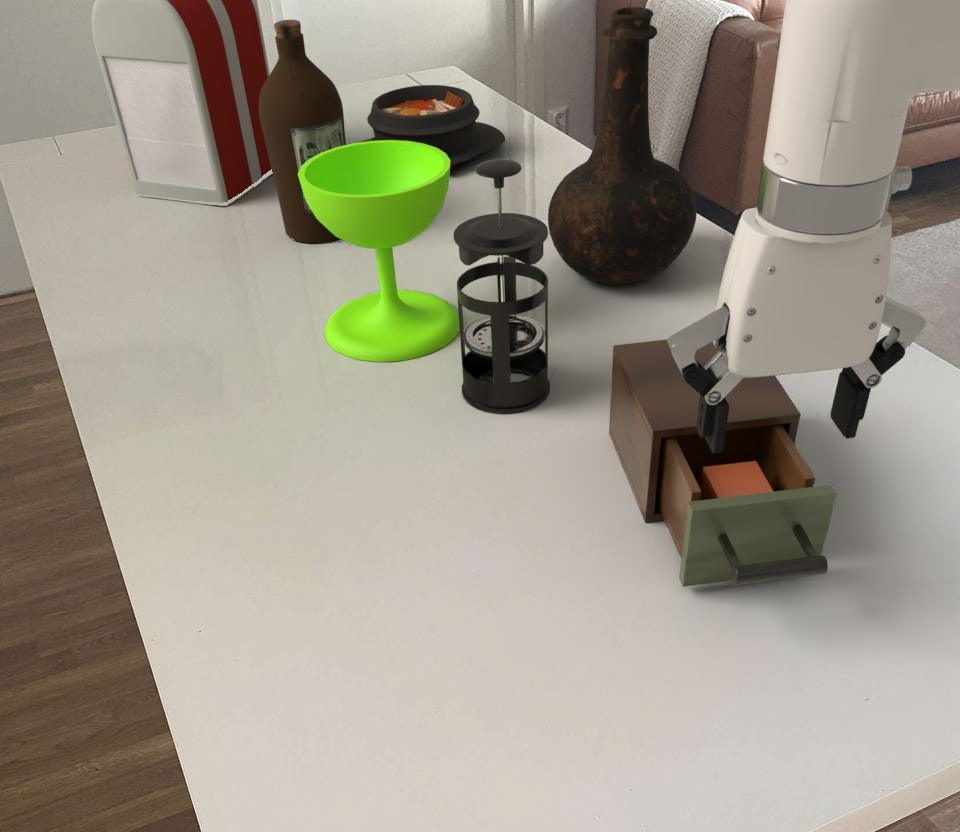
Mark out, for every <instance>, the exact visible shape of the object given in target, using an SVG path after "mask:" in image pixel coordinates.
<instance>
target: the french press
mask: <svg viewBox="0 0 960 832" xmlns="http://www.w3.org/2000/svg"><path fill="white" fill-rule="evenodd" d="M522 169H523V168H522V165H521V163H519V162H518V161H515V160H512V159H505V158H495V159H490V160H486V161H483V162H481V163H479V164H477V166H475V173H476V174H477V175H479V176H480V177H483V178H487V179H493V187H494V188H495V189H496V191H497V192H496V194H497V212H495V213H487V214H482V215H478V216H475V217H472V218H469V219H466V220H464V221H463V222H461V223H460V224H459V225H458V226H457V227H455V229H454V230H453V241H454V243H455V244H456V245H457V246H458V255H459V261H460V262H461V263H462V264H463V265H465V266H471V265H473V264H475V263H477V262H479V261H480V260H482V259H484V258H487V257H489V256H495V257H497V260H496V261H494V262H493V261H492V262H486V263H483V264H479V265H476V266H473V267H471V268H469V269H467V270H465V272H462V273H461V275H459V276H458V279H457V281H456V292H457V293H456V294H457V295H456V297H457V309H458V311H457V312H458V315H459V326H460V330H459V340H460V341H459V342H460V354H461V355H460V356H461V370H462V371H461V372H462V384H461V395H462V397H463V399H464V401H465V402H466V403H467V404H468V405H470V406H471V407H473V408H475V409H477V410H479V411H483V412H486V413H492V414H514V413H521V412H525V411H528V410H531V409H533V408H535V407H537V406H539V405H541V404H542V403H544V401H546V399H548V396H549V395H550V392H551V381H550V380H549V277H548V275H547V274H546V272H544V271H543V270H542V269H541V268H539V267H537V266H535V265H536V264H537V263H538V262H540V261H541V260H542V258H543V257H544V243H545V241H546V240H547V239H548V236H549V227H548V225H546V223H545V222H543V221H542V220H541V219H539V218H537V217H534V216H531V215H527V214H522V213H513V212H503V205H502V202H503V201H502V200H503V199H502V198H503V197H502V188H504V187H505V178H509V177H510V178H511V177H513V176H516V175H518V174H519V173H520V172H521V171H522ZM517 260H518V261H520V262H518V261H517ZM494 276H496V277H497V278H496V279H497V280H496V282H497V301H488V300H482V299H481V300H480V299H478V298H474V297H472V296H469V295H468V294H466V293H465V292H464V291H462V290H463V289H464V288H465V287H466V286H468V285H469V284H471V283H473V282H475V281H478V280H481V279H483V278H488V277H494ZM517 276H518V277H524V278H528V279H531V280H534V281H535V282H537V283H539V284H540V285H541V286H543V287H542V289H540V290H539V291H538V292H536V293H534V294H532V295H530V296H527V297H525V298H522V299H517ZM542 304H544V326H543V325H542V324H541V323H540V322H538V321H537V320H535V319H533V318H531V317H527V316H524V315H519V314H523V313H527V312H529V311H532V310H535V309H536V308H539V307H540V306H542ZM463 308H465V309H467V310H468V311H470V312H473V313H476V314H480V315H483V316H485V315H486V317H483V318H480V319H477V320H476V321H473V322H471V323H470V324H469V325H468V326H466V328H465V329H464V314H463ZM543 343H544V350H543V349H542V348H541V347H542V345H543ZM466 348H467V350H469V351H468V352H467V353H466ZM511 372H518V373H523V374H525V375H528V376H530V377H529V378H527V379H523V380H519V381H513V382H511V381H512V379H511ZM489 374H492V382H491V381H486V380H482V379H481V378H483V377H484V376H486V375H489Z"/></svg>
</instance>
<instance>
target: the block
mask: <svg viewBox="0 0 960 832" xmlns="http://www.w3.org/2000/svg"><path fill="white" fill-rule="evenodd" d="M700 490H701V499H700V500H708V499H717V498H725V497H733V496H741V495H750V494H758V493H766V492H774V491H773V490H772V488H771V486H770V484H769V483H768V481H767V479H766V477H765V476H764V474H763V472H762V470H761V469H760V467H759V465H758V463H757V462H756V461H750V462H742V463H733V464H725V465H716V466H708V467H703V470H702V478H701V486H700Z"/></svg>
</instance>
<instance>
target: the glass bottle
mask: <svg viewBox="0 0 960 832" xmlns="http://www.w3.org/2000/svg"><path fill="white" fill-rule="evenodd" d="M653 17H654V12H653V10H652V9H649V8H647V7H638V6H626V7H621V8H618V9H615V10H613V11H612V12H611V13H610V14H609V26H608V27H606V28H604V29H603V30H601V34H602V35H603V36H604V37H607V36H608V37H609V40H608V41H609V42H608V43H609V44H608V54H607V62H606V63H607V64H606V74H605V81H604V90H603V98H602V105H601V110H600V117H599V123H598V127H597V132H596V137H595V140H594V144H593V147H592V151H591V153H590V155H589V156H588V159H587V160H586V161H585V162H583V163H581V164H580V165H577V167H575V168H574V169H572V170H571V171H570V172H568V173H567V174H566V175H565V177H563V178H562V179H561V180H560V182H559V183H558V185H557V186H556V188H555V190H554V192H553V194H552V196H551V199H550V202H549V206H548V211H547V212H548V214H547V228H548V233H549V236H550V238H551V241H552V244H553V246H554V249H555V250H556V252H557V254H558V255H559V257H560V258H561V259H562V260H563V262H564V263H565V264H566V265H567V266H568V267H569V268H570V269H572V271H574V272H575V273H577V274H578V275H579V276H582V277H584V278H585V279H589V280H591V281H594V282H599V283H603V284H612V285H621V284H631V283H637V282H641V281H644V280H648V279H650V278H652V277H654V276H656V275H658V274H660V273H661V272H663V271H665V269H667V268H668V267H669V266H671V265H672V264H673V263H674V262H675V261H676V260H677V259H678V258H679V256H680V255H681V253H682V252H683V251H684V249H685V248H686V247H687V245H688V243H689V241H690V239H691V237H692V235H693V232H694V231H695V230H694V229H695V226H696V223H697V222H696V221H697V216H698V215H697V212H698V208H697V204H696V197H695V194H694V190H693V188H692V186H691V185H690V183H689V182H688V181H687V178H686V177H685V176H684V175H683V174H682V173H681V172H680V171H679V170H678V169H676V168H674V167H673V166H671V165H670V164H669V163H666V162H664V161H662V160H659V159H656V158H655V157H654V154H653V151H652V145H651V136H650V134H651V133H650V120H649V119H650V117H649V68H650V67H649V62H650V41H651V40H653V39H654V38H656V36H657V35H658V29H657V28H656V26H654V25H652V24H651V22H652V18H653Z"/></svg>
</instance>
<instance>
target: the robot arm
mask: <svg viewBox="0 0 960 832" xmlns="http://www.w3.org/2000/svg"><path fill="white" fill-rule="evenodd" d="M778 46H779V47H778V53H777V62H776V69H775V75H774V82H773V89H772V95H771V96H772V97H771V104H770V111H769V117H768V124H767V130H766V131H767V132H766V136H765V137H766V138H765V145H764V152H763V160H762V165H761V172H760V178H759V187H758V192H757V193H758V194H757V200H756V206H755V207H751V208H750V207H749V208H746V209H745V210H744V211H743V212H742V214H741V216H740V219H739V221H738V223H737V225H736V230H735V232H734V235H733V238H732V240H731V241H732V242H731V244H730V248H729V252H728V254H727V259H726V263H725V266H724V270H723V274H722V279H721V282H720V288H719V292H718V296H717V301H716V307H715V310H714V311H713V312H711V313H709V314H707V315H705V316H704V317H701V318H700V319H698V320H696V321H695V322H693V323H691V324H690V325H688V326H686V327H684V328H682V329H681V330H679V331H677V332H674V334H671V335H670V336H668V338H667V339H668V340H667V346H668V348H669V350H670V352H671V354H672V356H673V358H674V360H675V362H676V364H677V366H678V368H679V370H680V372H681V374H682V376H683V378H684V380H685V381H686V382H687V383H688V384H689V385H690V386H691V387H692V388H693V389H695V390H696V391H697V392H698V393H699V394H700V400H699V408H698V416H697V431H698V433H699V435H700V437H705V439H706V441H707V443H708V445H709V447H710V449H711V451H712V453H719V452H721V450H723V448H724V441H725V434H726V427H727V420H728V413H729V404H728V402H727V400H726V398H725V397H726V396H727V394H728V393H729V392H730V391H731V390H732V389H733V388H734V387H735V386H736V385H737V384H738V383H739V382H740V381H741V380H742V379H743V378H744V377H745V378H753V377H766V376H776V377H777V376H785V375H794V374H803V373H804V374H805V373H813V372H823V371H830V370H831V371H832V370H839V369H841V372H839V374H838V378H837V382H836V387H835V392H834V396H833V401H832V405H831V409H830V416H829V417H830V419H831V420H832V422H833V423H834V425H835V426H836V428H837V430H838V431H839V432H840V434H841V435H842V437H843V438H845V439H855V438H856V437H857V432H858V427H859V424H860V421H862V420H863V419H864V418H865V413H866V409H867V406H868V402H869V399H870V395H871V390H872V389H873V388H876V387H878V386H879V385H880V384H881V382H882V380H883V375H884V374H886V373H887V372H888V371H889V370H890V369H891V368H893V367H894V366H895V365H896V364H897V363H899V362H900V361H901V360H902V359H903V358H904V357H905V355H906V349H908V347H910V346H911V345H912V344H913V342H914V341H915V339H916V338H917V337H918V336H919V335H920V334H921V332H922V331H923V329H924V328H925V327H926V323H927V322H926V320H925V318H924V317H923V316H922V315H921V314H920V313H919V311H917V310H916V309H914V308H912V307H909V306H907V305H905V304H903V303H901V302H898V301H896V300H894V299H892V298H890V297H888V296H887V295H888V290H889V289H888V288H889V282H890V281H889V279H890V272H891V271H890V270H891V260H892V259H891V258H892V231H893V230H892V216H891V214H890V213H889V212H888V209H889V206H890V201H891V197H892V195H893V194H896V193H897V192H898V191H899V192H900V191H907V190H909V188H910V187H911V185H912V182H913V169H912V168H911V166H909V165H904V166H900V165H898V164H897V159H898V155H899V150H900V146H901V142H902V137H903V133H904V129H905V125H906V120H907V116H908V111H909V109H910V108H909V107H910V103H911V102H912V99H913V98H914V97H916V96H917V95H919V94H929V93H941V92H943V93H944V92H960V0H785V4H784V12H783V19H782V25H781V33H780V41H779V45H778ZM882 322H883V323H885V324H886V325H890V326H891V328H890V330H889V331H888V334H886V335H884V336H883V337H882V338H880V339H879V340H878V338H879V335H880V332H881V331H880V330H881V327H882ZM711 342H713V343H714V346H715V348H719V349H720V350H719V351H718V352H717V353H716V354H715V355H714V356H713V357H712V358H711V359H710V361H709V362H708V363H707V364H706V365H705V366H704V367H703V366H702V365H701V364H700V363H699V362H698V361H697V360H695V353H696V351H697V350H698V349H700V348H702V347H704V346H705V345H707V344H709V343H711Z"/></svg>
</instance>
